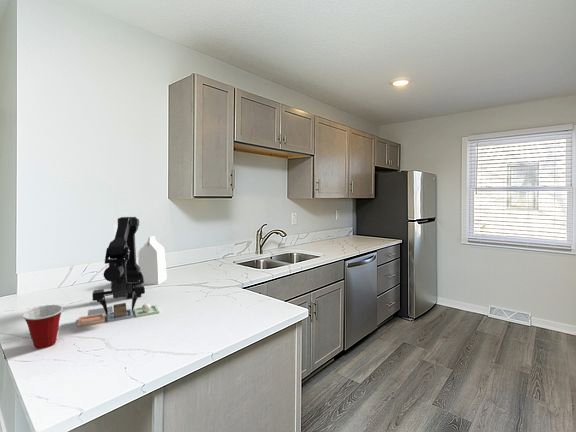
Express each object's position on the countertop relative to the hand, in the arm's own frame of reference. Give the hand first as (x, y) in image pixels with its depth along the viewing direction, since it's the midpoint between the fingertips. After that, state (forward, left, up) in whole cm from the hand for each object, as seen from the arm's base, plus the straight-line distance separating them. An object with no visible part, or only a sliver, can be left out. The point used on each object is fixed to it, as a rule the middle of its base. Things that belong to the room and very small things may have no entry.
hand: (120, 312), depth 132 cm
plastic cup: (+15, -23, -2) cm, 28 cm away
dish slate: (0, 0, -2) cm, 2 cm away
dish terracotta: (0, -10, -2) cm, 10 cm away
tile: (-10, -7, -2) cm, 12 cm away
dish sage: (0, +10, -2) cm, 10 cm away
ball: (0, +10, -2) cm, 10 cm away
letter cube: (0, 0, -2) cm, 2 cm away
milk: (-51, +19, -2) cm, 54 cm away
